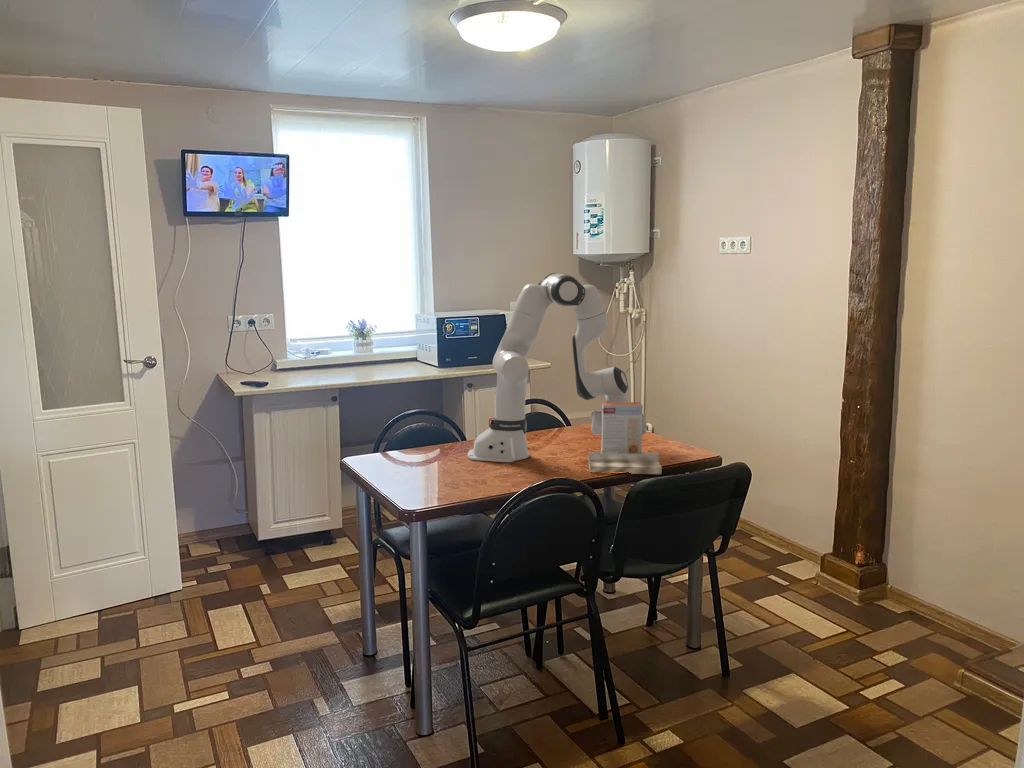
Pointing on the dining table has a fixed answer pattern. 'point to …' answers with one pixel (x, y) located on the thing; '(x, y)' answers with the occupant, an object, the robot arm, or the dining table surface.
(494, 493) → the dining table surface
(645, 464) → the birch plank
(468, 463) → the dining table surface
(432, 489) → the dining table surface
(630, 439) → the cracker box
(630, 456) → the edge rail
